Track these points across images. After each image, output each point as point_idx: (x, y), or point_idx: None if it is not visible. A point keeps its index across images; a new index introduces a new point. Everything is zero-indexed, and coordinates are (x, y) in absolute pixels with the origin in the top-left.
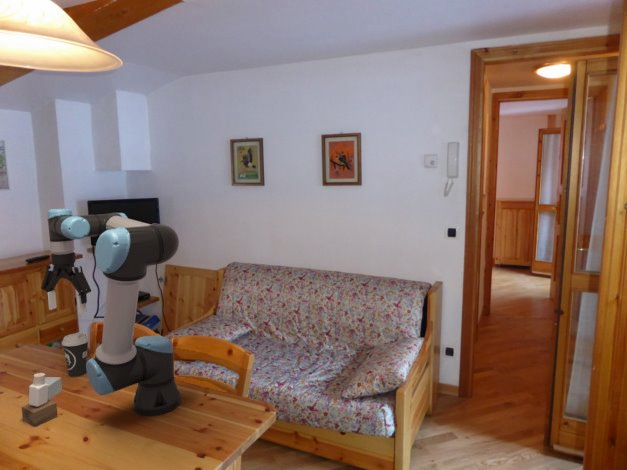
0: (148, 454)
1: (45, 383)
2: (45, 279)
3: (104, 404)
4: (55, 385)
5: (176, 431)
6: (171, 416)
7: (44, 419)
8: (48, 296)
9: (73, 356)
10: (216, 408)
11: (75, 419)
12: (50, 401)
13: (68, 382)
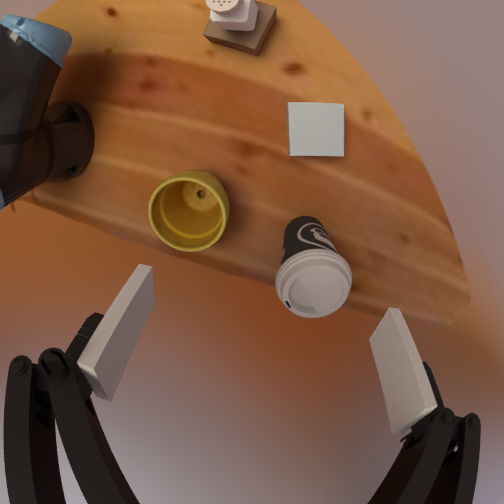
0: None
1: (218, 16)
2: (464, 491)
3: (145, 107)
4: (288, 129)
5: None
6: None
7: None
8: (423, 379)
9: (302, 238)
10: None
11: (165, 44)
12: (222, 36)
13: (298, 188)
